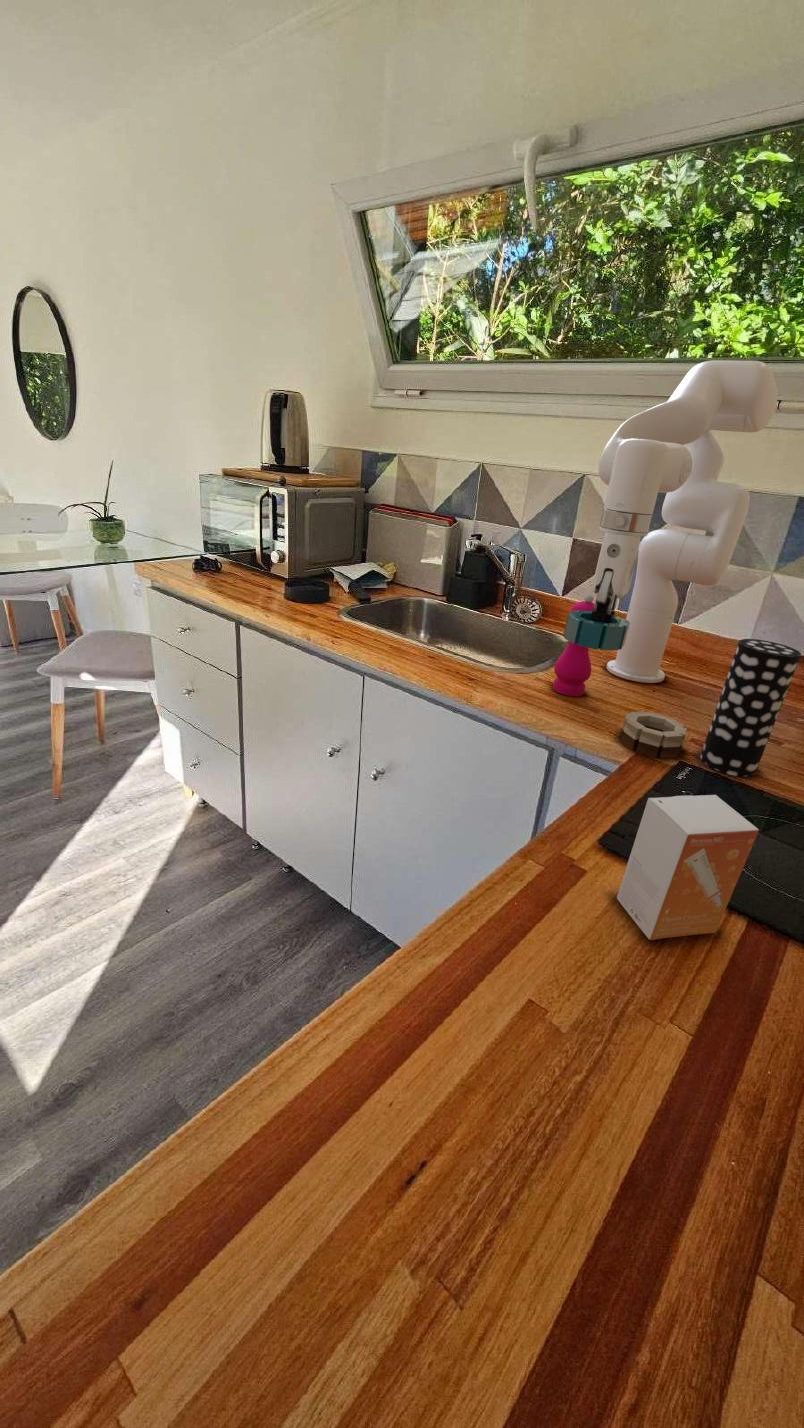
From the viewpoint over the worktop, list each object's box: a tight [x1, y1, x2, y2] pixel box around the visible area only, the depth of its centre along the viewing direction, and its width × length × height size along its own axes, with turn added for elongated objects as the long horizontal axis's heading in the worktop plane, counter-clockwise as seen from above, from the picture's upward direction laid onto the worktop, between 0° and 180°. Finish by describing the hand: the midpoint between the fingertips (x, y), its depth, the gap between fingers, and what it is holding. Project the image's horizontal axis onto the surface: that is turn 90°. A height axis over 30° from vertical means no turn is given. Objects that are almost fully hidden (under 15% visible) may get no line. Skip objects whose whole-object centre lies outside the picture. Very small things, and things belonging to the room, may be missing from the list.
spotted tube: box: [700, 638, 802, 778], centre depth 93 cm, size 8×8×20 cm
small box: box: [616, 794, 760, 941], centre depth 60 cm, size 8×6×13 cm
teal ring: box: [562, 610, 630, 651], centre depth 99 cm, size 10×10×4 cm
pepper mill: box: [552, 593, 595, 697], centre depth 118 cm, size 7×7×20 cm
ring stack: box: [619, 710, 688, 759], centre depth 101 cm, size 10×10×4 cm
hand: (598, 632), depth 103 cm, fingers closed on teal ring, 2 cm apart
